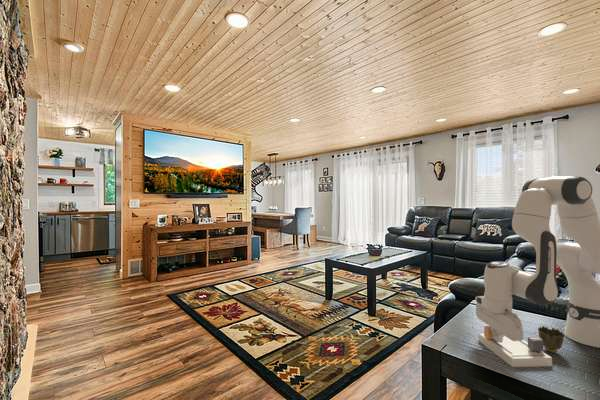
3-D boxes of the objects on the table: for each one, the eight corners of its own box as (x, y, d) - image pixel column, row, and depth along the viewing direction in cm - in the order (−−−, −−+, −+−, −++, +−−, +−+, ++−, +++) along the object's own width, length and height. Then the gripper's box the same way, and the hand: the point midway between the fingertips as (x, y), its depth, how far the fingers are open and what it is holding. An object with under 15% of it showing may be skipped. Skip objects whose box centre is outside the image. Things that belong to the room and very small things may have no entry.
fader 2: (537, 347, 104) (537, 336, 104) (543, 351, 102) (543, 340, 101) (527, 348, 104) (527, 336, 104) (533, 351, 101) (533, 340, 101)
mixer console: (511, 339, 116) (511, 332, 116) (552, 366, 98) (552, 357, 98) (478, 340, 116) (478, 333, 116) (512, 367, 98) (512, 358, 98)
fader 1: (493, 336, 113) (493, 325, 113) (497, 339, 110) (497, 328, 110) (484, 336, 113) (484, 326, 113) (488, 339, 110) (488, 328, 110)
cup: (563, 350, 108) (563, 330, 108) (564, 359, 102) (564, 337, 102) (538, 344, 113) (538, 324, 113) (537, 351, 107) (537, 331, 107)
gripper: (528, 316, 97) (528, 355, 98) (487, 295, 118) (487, 328, 118) (511, 316, 97) (511, 356, 97) (472, 295, 118) (472, 328, 118)
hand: (497, 340), depth 108 cm, fingers closed
